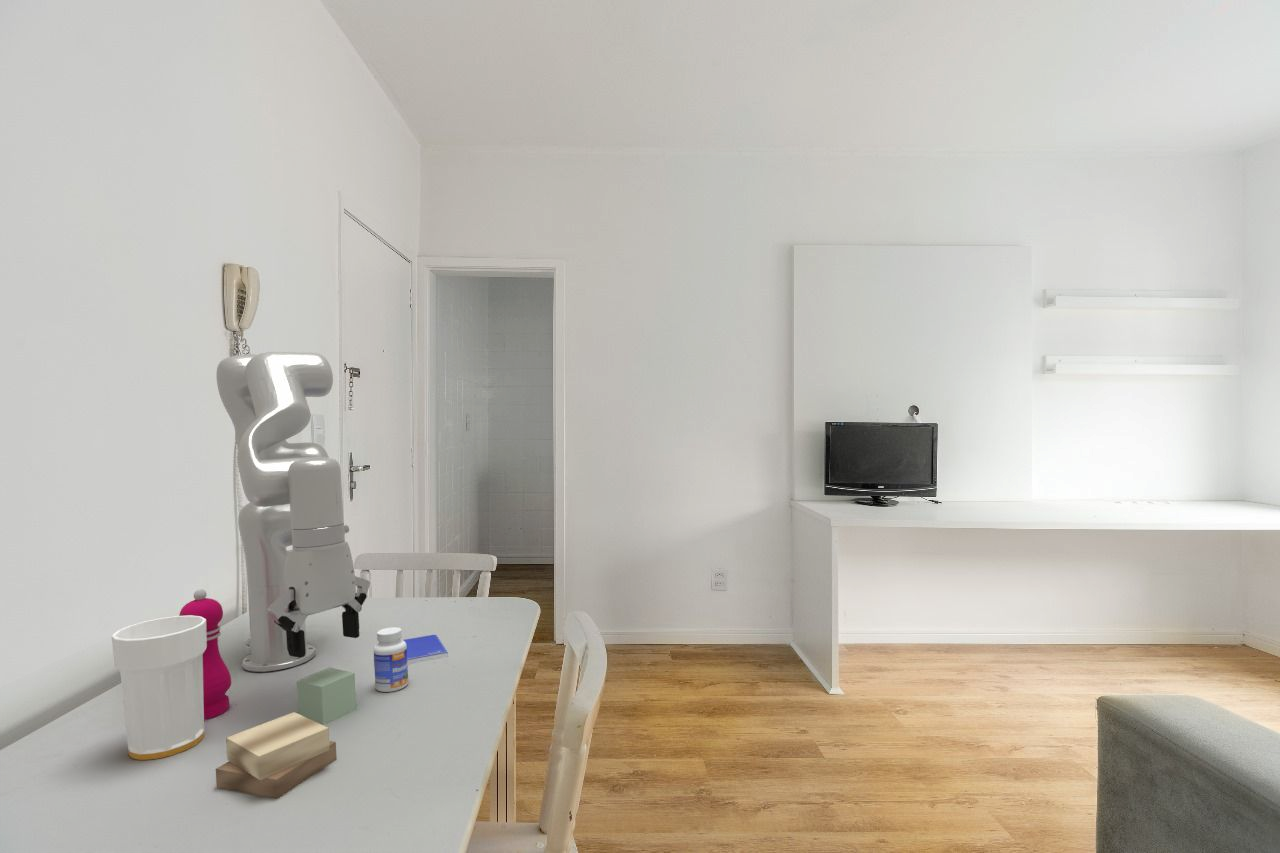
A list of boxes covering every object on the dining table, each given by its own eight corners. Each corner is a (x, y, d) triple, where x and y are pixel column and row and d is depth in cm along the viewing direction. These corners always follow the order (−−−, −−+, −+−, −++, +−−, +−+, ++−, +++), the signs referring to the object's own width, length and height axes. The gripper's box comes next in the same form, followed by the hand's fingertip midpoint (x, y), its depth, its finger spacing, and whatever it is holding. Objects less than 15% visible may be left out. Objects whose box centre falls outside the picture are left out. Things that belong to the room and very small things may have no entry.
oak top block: (227, 760, 92) (226, 737, 92) (295, 732, 99) (294, 711, 99) (260, 780, 86) (259, 756, 86) (329, 750, 94) (328, 727, 94)
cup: (141, 772, 94) (133, 644, 94) (104, 752, 100) (97, 632, 100) (227, 736, 104) (221, 620, 103) (189, 720, 110) (183, 611, 109)
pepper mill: (243, 705, 115) (236, 584, 115) (203, 724, 108) (195, 596, 108) (210, 700, 118) (203, 582, 117) (169, 719, 111) (161, 594, 110)
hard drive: (448, 651, 134) (436, 633, 146) (403, 659, 131) (395, 640, 142) (448, 659, 134) (436, 641, 146) (403, 667, 131) (395, 648, 142)
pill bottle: (397, 693, 118) (395, 636, 117) (368, 692, 119) (366, 635, 118) (414, 680, 123) (411, 626, 123) (386, 679, 124) (384, 625, 124)
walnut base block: (217, 791, 90) (215, 768, 90) (279, 754, 99) (278, 733, 99) (277, 803, 87) (276, 779, 86) (336, 763, 96) (335, 741, 96)
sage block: (298, 718, 110) (296, 680, 109) (331, 703, 115) (329, 667, 115) (323, 725, 107) (321, 686, 107) (356, 710, 112) (354, 672, 112)
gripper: (349, 528, 119) (355, 628, 119) (250, 546, 104) (257, 661, 104) (379, 529, 115) (386, 632, 116) (282, 548, 100) (289, 667, 100)
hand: (325, 646), depth 110 cm, fingers open, 9 cm apart
